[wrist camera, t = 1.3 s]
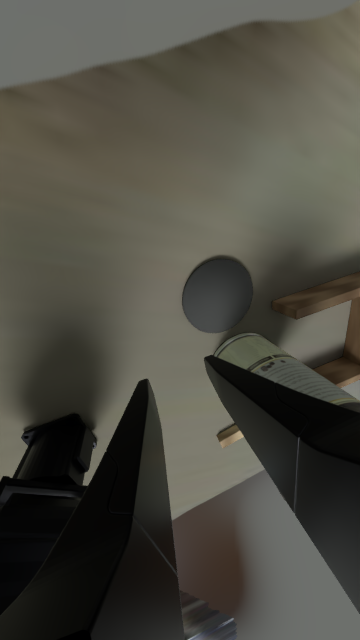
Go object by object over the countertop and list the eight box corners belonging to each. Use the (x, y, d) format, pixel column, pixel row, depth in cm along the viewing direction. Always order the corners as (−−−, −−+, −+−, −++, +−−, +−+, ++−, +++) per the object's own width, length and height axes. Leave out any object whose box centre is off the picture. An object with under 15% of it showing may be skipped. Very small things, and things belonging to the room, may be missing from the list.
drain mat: (191, 340, 24) (191, 342, 23) (173, 271, 20) (174, 271, 20) (253, 319, 25) (255, 320, 25) (247, 250, 21) (250, 250, 21)
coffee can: (283, 350, 29) (406, 432, 16) (241, 399, 30) (323, 509, 18) (239, 318, 25) (359, 395, 12) (194, 377, 26) (256, 500, 13)
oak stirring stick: (218, 439, 33) (223, 448, 32) (215, 433, 32) (219, 442, 31) (285, 401, 34) (292, 408, 33) (283, 394, 33) (290, 401, 32)
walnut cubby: (274, 390, 32) (293, 408, 28) (272, 301, 25) (296, 310, 21) (347, 359, 34) (373, 373, 30) (363, 270, 27) (399, 273, 23)
